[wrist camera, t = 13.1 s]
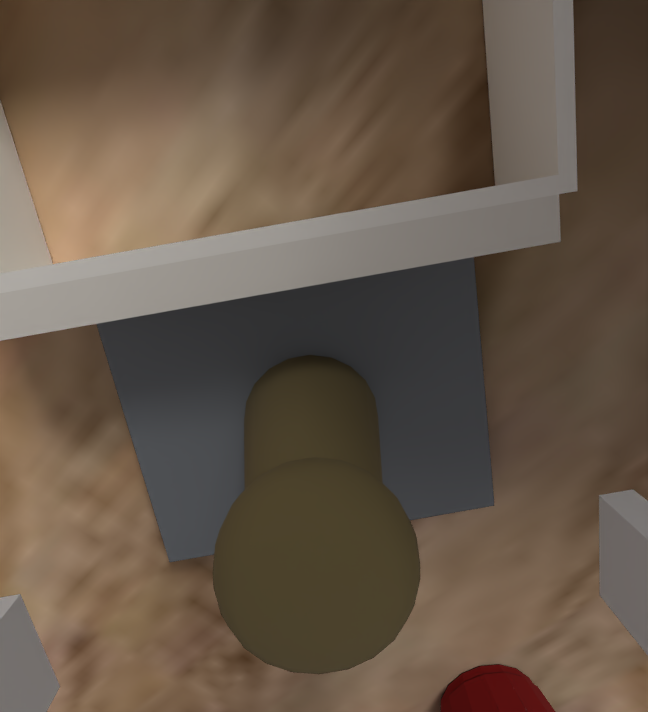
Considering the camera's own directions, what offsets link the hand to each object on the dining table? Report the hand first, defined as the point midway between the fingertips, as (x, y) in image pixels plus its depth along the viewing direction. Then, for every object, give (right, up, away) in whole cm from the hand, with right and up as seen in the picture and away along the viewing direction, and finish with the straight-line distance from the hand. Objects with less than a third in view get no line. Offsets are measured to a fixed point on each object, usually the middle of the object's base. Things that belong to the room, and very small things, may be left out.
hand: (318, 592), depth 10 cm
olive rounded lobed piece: (0, +3, +10) cm, 11 cm away
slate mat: (-1, +3, +11) cm, 12 cm away
